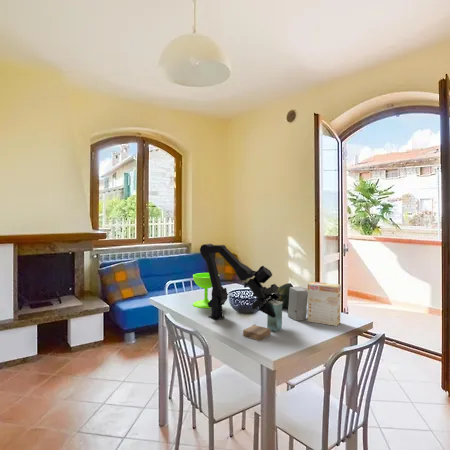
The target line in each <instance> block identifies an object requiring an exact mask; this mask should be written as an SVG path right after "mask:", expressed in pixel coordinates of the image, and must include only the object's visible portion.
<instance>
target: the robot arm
mask: <svg viewBox="0 0 450 450" xmlns="http://www.w3.org/2000/svg"><path fill="white" fill-rule="evenodd" d="M199 252H200V255H201V257H202V259H203V260H204V261H205V263H206V268H207V273H209V276H210V280H211V284H212V287H211V288H212V289H211V299H209V300H210V301H209V302H208V306H209V307H211V308H210V315H208V316H207V317H208V318H210V319H213V320H221V319H224V318H225V315H223V312H224V309H223V305H225V303H226V301H227V300H228V295H229V293H228V292H227V288H226V287H223V286H222V283H221V278H220V274H219V271H218V267H217V266H218V265H217V263H216V255H217V254H220V256H221V257H222V258H223V260H225V261H226V262H227V263H228V264H229V265H230V266H231V268H233V270H234V272H235V275H236V276H237V278H238V279H239V280H240V281H242V282H243V281H244V284H243V288H249V290H251V292H252V293H253V294H252V296H253V297H254V298H255V297H256V299H255V301H253V303H252V304H251V309H252V310H253V311H256V310H257V311H260V312H262V313H264V314H266V315H267V316H268V315H269V316H271V317H273V318H274V317H275V316H274V314H273V312H272V311H271V309H270V307H269V301H272V300H276V301H278V299H279V297H280V296H281V295H280V294H279V293H277V292H278V287H279V286H277V284H276V283H273V284H271V285H270V286H269V287H266V286H263V284H266V282H267V281H268V280H269V279H270V278H272V277H273V272H272V271H271V269H269V268H267V267H265V266H264V265H262V266H260V267H259V269H258V270H253V269H252V268H250V267H249V266H248V265H246V264H244V263H242V262H241V261H240V260H239V259H238V258H237V257H236V256H235V255H234V254H233V253H232V252H231V250H229V249H228V248H227V246H226V245H225V244H216V245H215V244H213V243H205V244H202V245H200V248H199ZM216 253H217V254H216ZM247 280H248V281H247ZM275 292H276V293H275Z"/></svg>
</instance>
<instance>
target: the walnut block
mask: <svg viewBox="0 0 450 450" xmlns="http://www.w3.org/2000/svg"><path fill="white" fill-rule="evenodd" d="M271 333H272V330H271V329H269V328H267V327H265V326H260V325H256V324H253V325H251V326H249V327H246V328H244V329H243V330H242V337H246V338H250V339H254V340H257V341H262V340H263V339H266V338H268V337H270V336H271V335H272V334H271Z"/></svg>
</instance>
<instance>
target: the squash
mask: <svg viewBox="0 0 450 450" xmlns="http://www.w3.org/2000/svg"><path fill="white" fill-rule="evenodd" d="M290 287H294V285H293V284H292V282H288V283H285V284H283V285H279V286H278V292H277V293H279V294H280V295H281V296H280V297H279V299H278V301H281V302H283V303H282V309H283V308H288V306H289V292H290ZM275 293H276V292H275Z"/></svg>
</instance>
